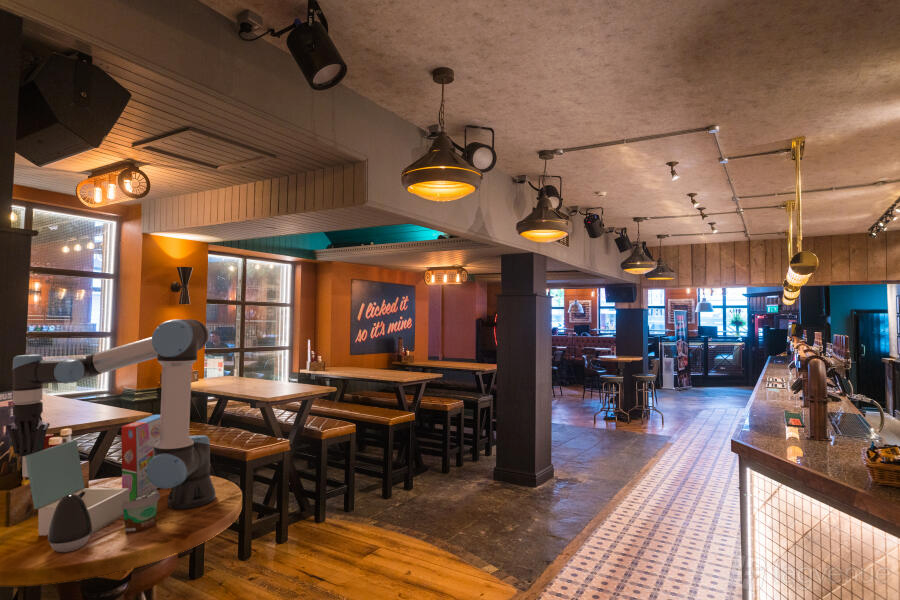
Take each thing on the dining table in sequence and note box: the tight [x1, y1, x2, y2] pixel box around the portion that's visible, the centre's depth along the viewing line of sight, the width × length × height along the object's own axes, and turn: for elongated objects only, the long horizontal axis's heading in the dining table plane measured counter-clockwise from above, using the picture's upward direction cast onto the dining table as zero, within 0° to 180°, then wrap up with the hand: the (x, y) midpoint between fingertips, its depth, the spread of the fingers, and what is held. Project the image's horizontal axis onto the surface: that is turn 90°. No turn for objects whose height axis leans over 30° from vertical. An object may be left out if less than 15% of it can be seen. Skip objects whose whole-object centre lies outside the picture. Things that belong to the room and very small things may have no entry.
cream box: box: [37, 487, 130, 536], centre depth 164 cm, size 16×18×8 cm
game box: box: [120, 413, 161, 501], centre depth 192 cm, size 21×6×27 cm, turn 0°
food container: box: [121, 489, 161, 535], centre depth 160 cm, size 12×6×10 cm, turn 168°
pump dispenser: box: [47, 492, 92, 553], centre depth 147 cm, size 10×10×15 cm
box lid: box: [25, 439, 85, 510], centre depth 165 cm, size 16×18×1 cm
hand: (28, 475), depth 166 cm, fingers closed
